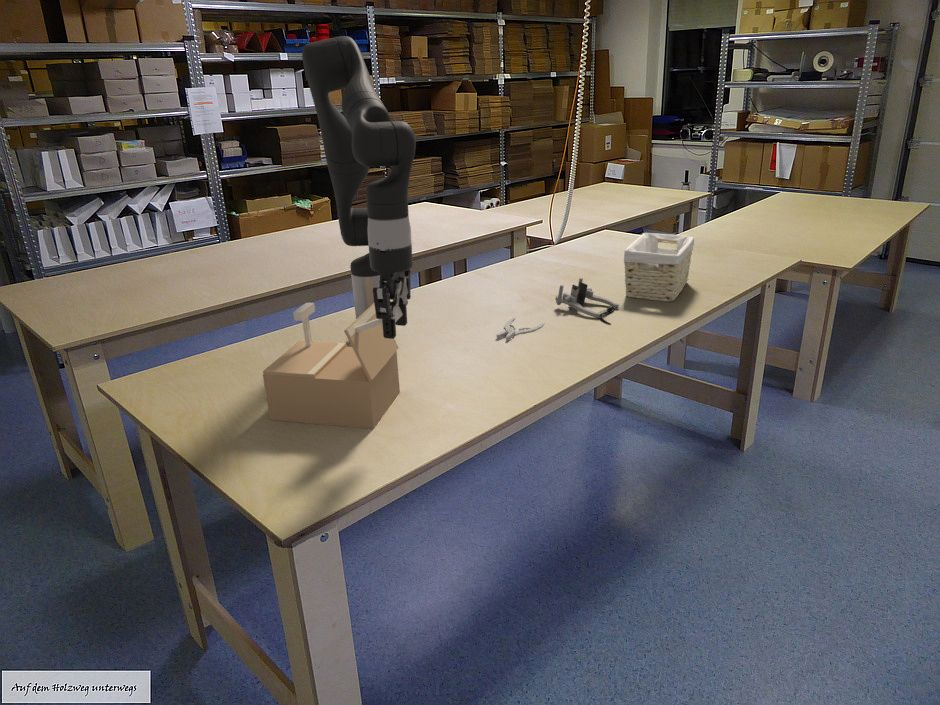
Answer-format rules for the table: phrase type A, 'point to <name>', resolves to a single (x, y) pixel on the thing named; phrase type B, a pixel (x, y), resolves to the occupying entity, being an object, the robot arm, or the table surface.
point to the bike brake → (579, 298)
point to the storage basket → (657, 266)
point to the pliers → (511, 332)
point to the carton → (327, 383)
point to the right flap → (371, 341)
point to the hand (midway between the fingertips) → (395, 330)
